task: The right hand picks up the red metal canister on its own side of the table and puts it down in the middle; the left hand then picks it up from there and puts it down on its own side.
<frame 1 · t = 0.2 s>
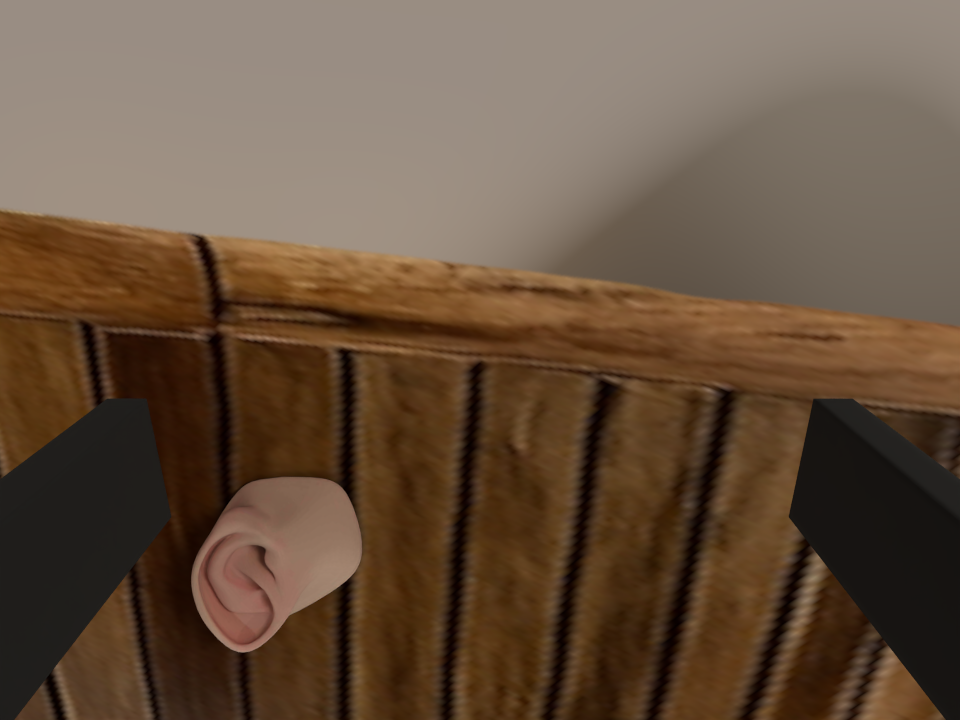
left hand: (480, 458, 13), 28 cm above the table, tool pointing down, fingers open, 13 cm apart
anatomical model: (283, 543, 47), on the table
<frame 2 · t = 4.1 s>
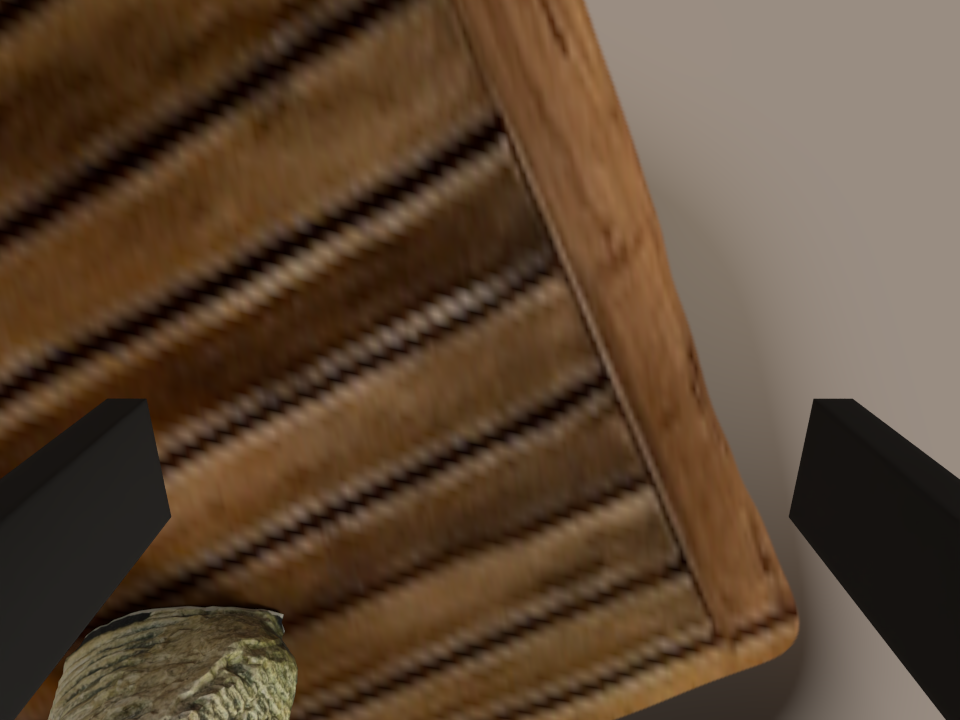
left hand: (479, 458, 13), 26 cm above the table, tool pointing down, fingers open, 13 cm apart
fossil: (199, 638, 48), on the table
when the right hand's fingers open (5 cm above the table, at t = 11.5 s): canister drops 2 cm, on the table.
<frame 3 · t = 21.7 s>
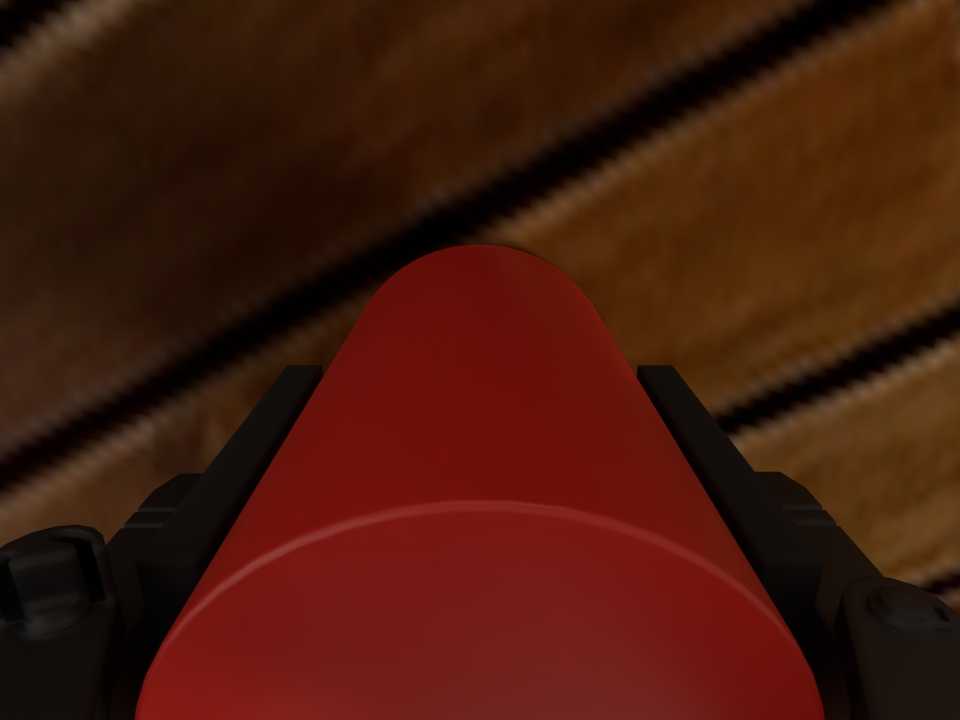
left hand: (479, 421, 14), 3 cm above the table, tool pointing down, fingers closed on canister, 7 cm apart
canister: (479, 372, 17), on the table, touching left hand
when the left hand's fingers open (5 cm above the table, at t = 32.2 s): canister drops 2 cm, on the table.
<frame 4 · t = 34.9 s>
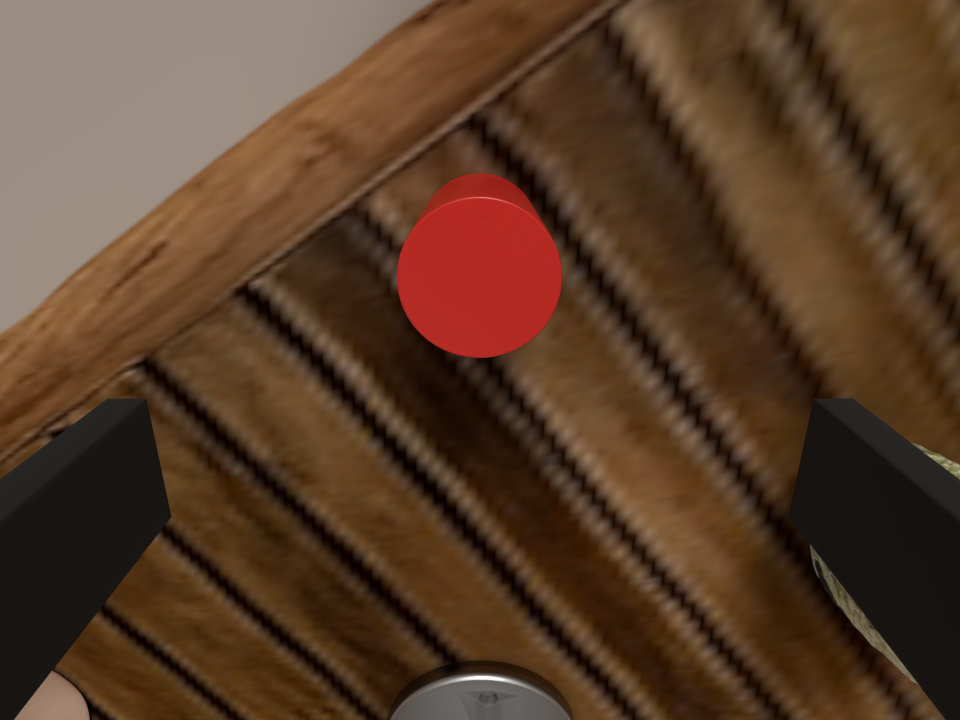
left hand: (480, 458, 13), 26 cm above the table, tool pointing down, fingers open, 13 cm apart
anatomical model: (24, 712, 50), on the table
canister: (479, 234, 37), on the table
fossil: (856, 514, 44), on the table
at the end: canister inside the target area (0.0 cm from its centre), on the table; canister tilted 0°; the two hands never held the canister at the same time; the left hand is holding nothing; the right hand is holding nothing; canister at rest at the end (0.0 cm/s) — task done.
